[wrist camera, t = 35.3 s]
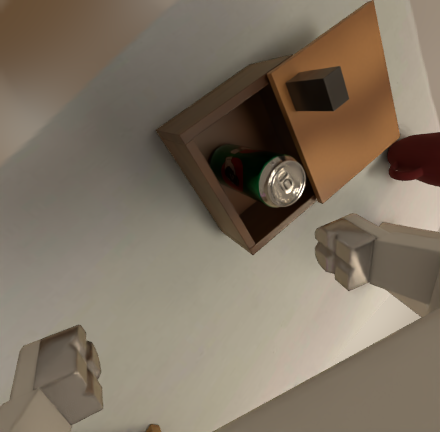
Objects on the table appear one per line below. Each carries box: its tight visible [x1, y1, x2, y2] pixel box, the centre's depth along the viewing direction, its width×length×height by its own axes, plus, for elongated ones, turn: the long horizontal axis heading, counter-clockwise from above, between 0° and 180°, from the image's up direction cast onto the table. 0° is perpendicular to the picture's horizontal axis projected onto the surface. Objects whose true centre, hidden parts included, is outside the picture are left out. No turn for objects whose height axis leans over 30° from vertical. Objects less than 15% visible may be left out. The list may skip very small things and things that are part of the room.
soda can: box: [210, 144, 306, 208], centre depth 33 cm, size 5×5×12 cm
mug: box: [387, 132, 440, 187], centre depth 48 cm, size 10×8×10 cm
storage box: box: [156, 54, 317, 255], centre depth 36 cm, size 16×14×8 cm
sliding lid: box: [267, 0, 400, 204], centre depth 31 cm, size 16×14×6 cm
